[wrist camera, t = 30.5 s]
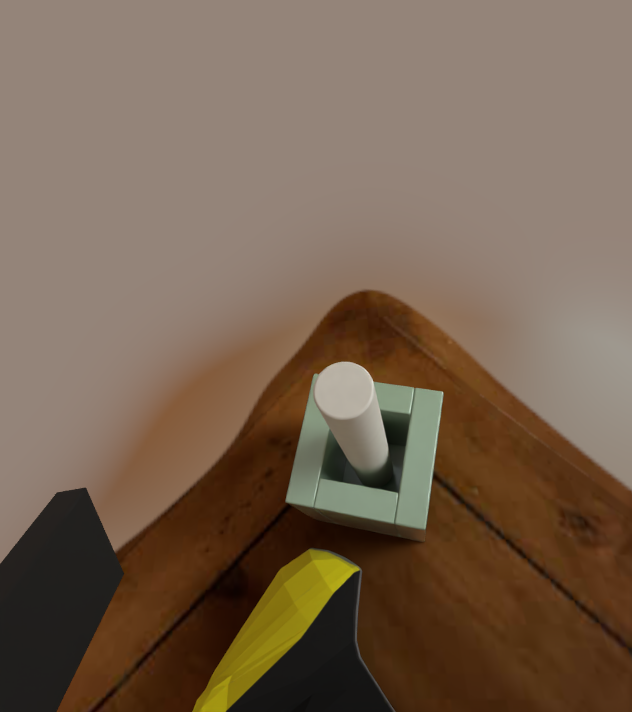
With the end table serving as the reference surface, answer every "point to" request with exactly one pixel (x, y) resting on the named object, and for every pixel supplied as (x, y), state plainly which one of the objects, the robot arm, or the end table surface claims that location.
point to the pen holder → (341, 484)
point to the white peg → (355, 420)
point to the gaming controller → (299, 646)
